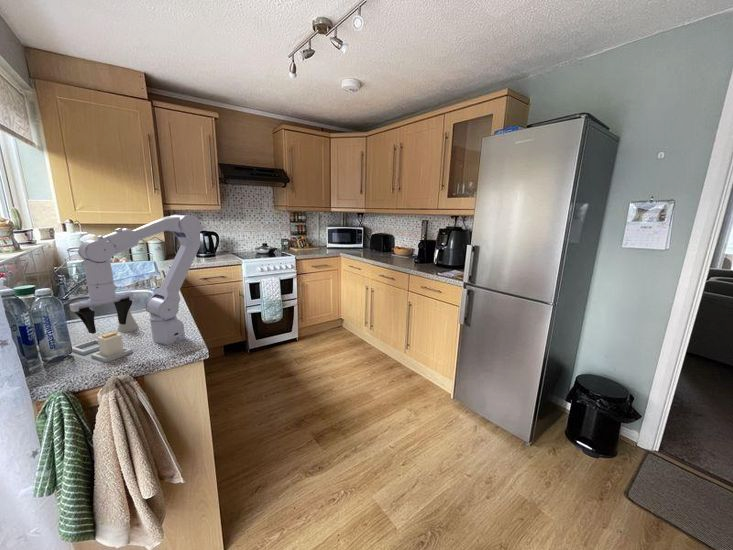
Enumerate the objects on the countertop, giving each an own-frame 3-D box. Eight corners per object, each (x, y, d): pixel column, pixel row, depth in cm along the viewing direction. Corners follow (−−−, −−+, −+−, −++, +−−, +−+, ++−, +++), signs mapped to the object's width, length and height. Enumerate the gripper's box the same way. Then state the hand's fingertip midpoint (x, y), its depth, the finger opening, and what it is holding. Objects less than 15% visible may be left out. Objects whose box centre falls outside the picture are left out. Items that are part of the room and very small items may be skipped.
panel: (138, 354, 94) (137, 347, 94) (100, 369, 85) (99, 361, 85) (103, 344, 101) (102, 337, 100) (64, 357, 92) (63, 349, 91)
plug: (124, 353, 92) (120, 332, 90) (108, 359, 88) (105, 337, 87) (115, 350, 93) (112, 330, 92) (100, 356, 89) (96, 335, 88)
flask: (137, 327, 115) (134, 302, 113) (143, 332, 111) (140, 306, 109) (113, 333, 110) (109, 306, 108) (118, 338, 105) (114, 311, 103)
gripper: (120, 276, 94) (126, 318, 97) (59, 286, 81) (68, 334, 84) (135, 279, 92) (141, 321, 94) (74, 289, 78) (83, 339, 81)
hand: (108, 328), depth 89 cm, fingers open, 7 cm apart
